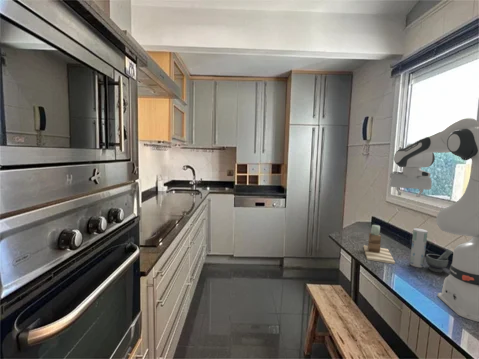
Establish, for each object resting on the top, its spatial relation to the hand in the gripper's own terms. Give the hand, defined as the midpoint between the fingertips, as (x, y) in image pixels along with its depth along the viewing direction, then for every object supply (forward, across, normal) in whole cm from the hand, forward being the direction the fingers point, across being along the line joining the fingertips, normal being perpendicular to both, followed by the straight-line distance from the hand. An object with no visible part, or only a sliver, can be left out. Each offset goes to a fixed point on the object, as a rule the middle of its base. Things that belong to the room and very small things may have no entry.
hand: (408, 196), depth 151 cm
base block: (+36, -15, +2) cm, 39 cm away
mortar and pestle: (+37, +14, -11) cm, 41 cm away
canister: (+26, -15, +2) cm, 30 cm away
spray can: (+37, +5, -9) cm, 39 cm away
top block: (+31, -15, +2) cm, 34 cm away
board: (+37, -13, -2) cm, 39 cm away
